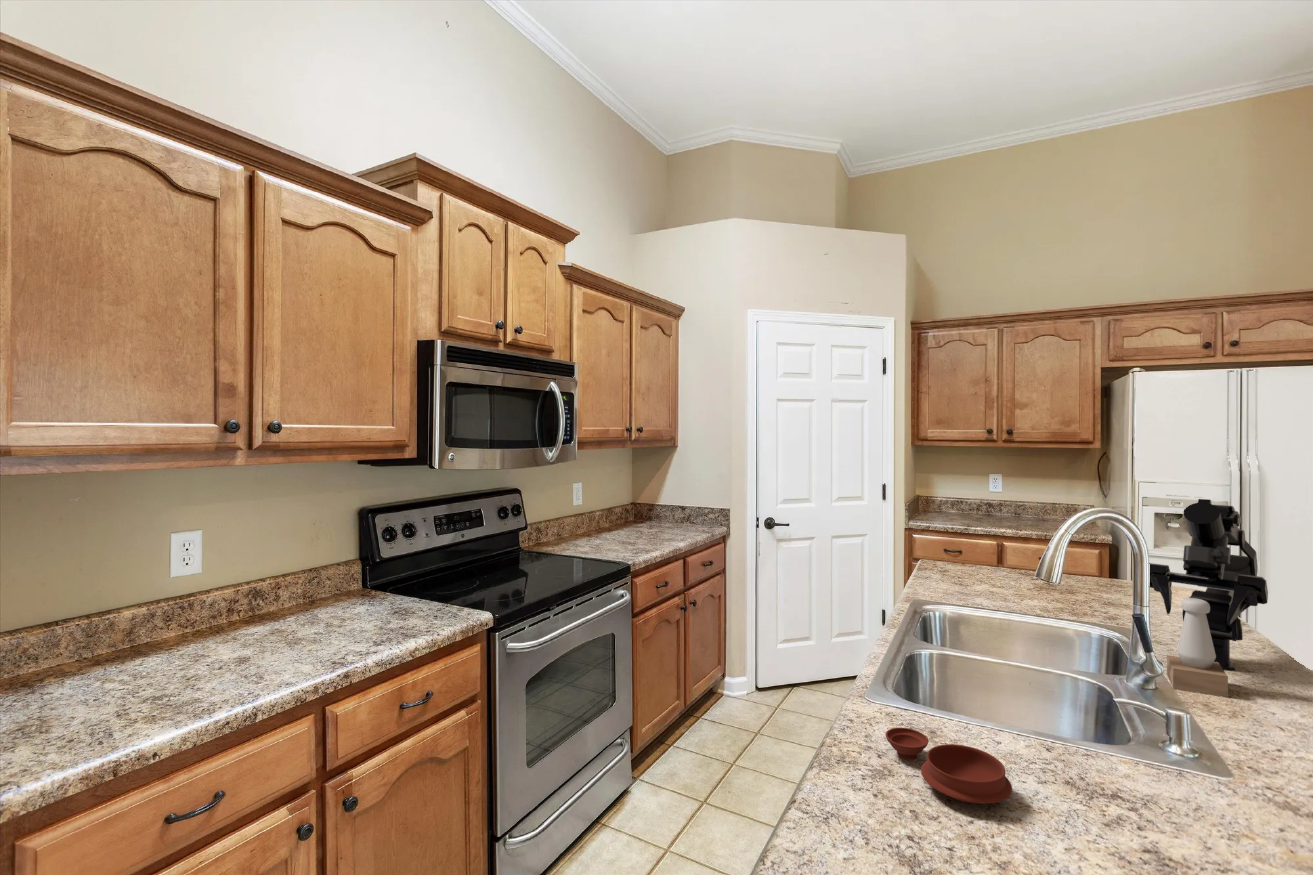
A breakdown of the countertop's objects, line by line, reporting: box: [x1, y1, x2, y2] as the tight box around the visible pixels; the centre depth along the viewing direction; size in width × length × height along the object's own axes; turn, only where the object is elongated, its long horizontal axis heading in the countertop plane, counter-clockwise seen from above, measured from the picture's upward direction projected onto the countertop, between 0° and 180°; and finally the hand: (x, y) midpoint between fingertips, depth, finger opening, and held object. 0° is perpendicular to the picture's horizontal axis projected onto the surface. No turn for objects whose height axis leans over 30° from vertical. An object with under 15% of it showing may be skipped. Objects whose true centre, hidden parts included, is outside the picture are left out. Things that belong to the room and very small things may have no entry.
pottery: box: [885, 727, 1013, 805], centre depth 93 cm, size 12×20×4 cm, turn 24°
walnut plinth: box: [1166, 654, 1229, 698], centre depth 123 cm, size 8×8×4 cm
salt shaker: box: [1176, 597, 1216, 669], centre depth 123 cm, size 6×6×13 cm
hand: (1197, 617), depth 124 cm, fingers open, 9 cm apart
